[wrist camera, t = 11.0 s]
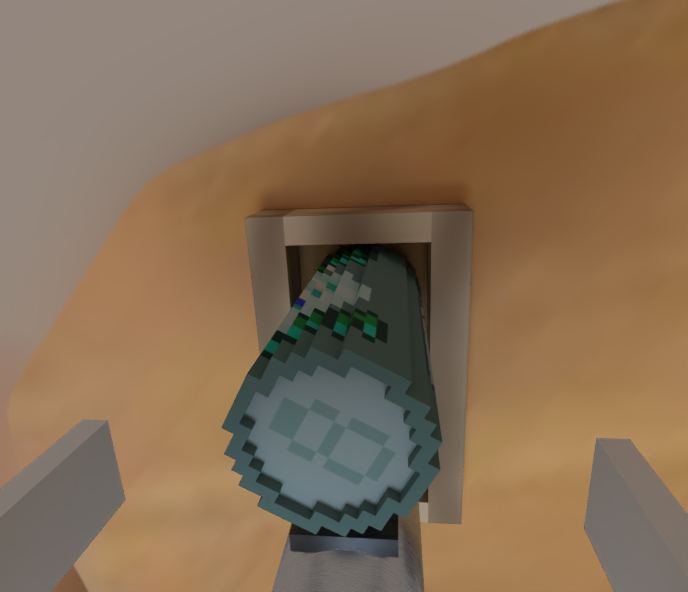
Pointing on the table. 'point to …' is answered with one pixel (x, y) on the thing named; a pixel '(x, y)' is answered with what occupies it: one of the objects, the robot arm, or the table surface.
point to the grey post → (354, 559)
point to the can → (342, 400)
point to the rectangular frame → (442, 303)
